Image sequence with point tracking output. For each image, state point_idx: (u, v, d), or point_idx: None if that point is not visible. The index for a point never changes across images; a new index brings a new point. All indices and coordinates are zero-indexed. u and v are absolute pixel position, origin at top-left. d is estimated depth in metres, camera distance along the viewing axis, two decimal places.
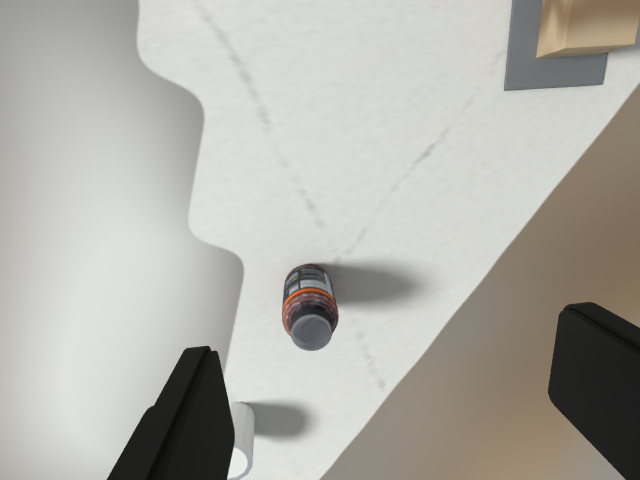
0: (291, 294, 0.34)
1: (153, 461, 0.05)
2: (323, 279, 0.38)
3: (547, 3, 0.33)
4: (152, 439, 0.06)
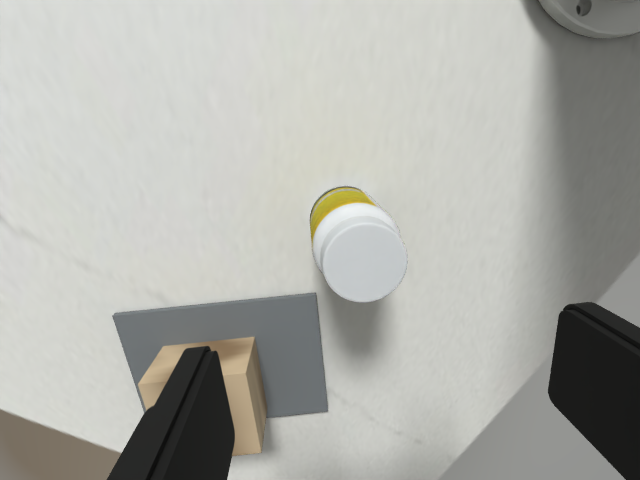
0: None
1: (153, 461, 0.05)
2: None
3: (224, 345, 0.24)
4: (152, 439, 0.06)
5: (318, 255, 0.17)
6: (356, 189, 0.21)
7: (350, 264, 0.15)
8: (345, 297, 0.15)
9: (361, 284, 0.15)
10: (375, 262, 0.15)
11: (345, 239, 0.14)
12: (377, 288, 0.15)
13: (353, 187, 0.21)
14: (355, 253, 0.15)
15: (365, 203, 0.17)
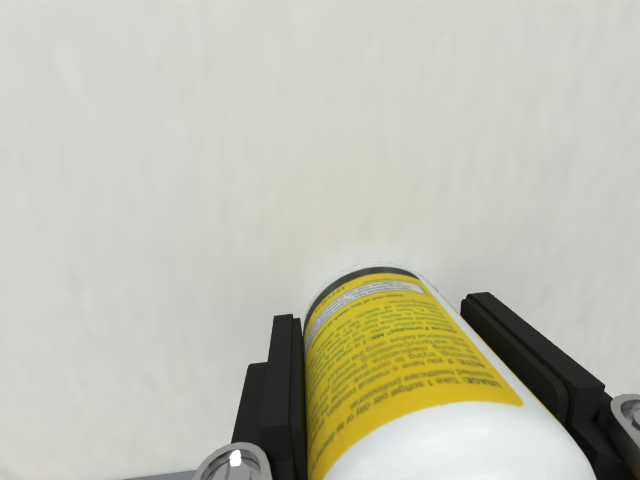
0: None
1: (289, 393, 0.06)
2: None
3: None
4: (279, 379, 0.07)
5: None
6: (408, 279, 0.09)
7: None
8: None
9: None
10: None
11: None
12: None
13: (399, 270, 0.10)
14: None
15: (491, 401, 0.05)
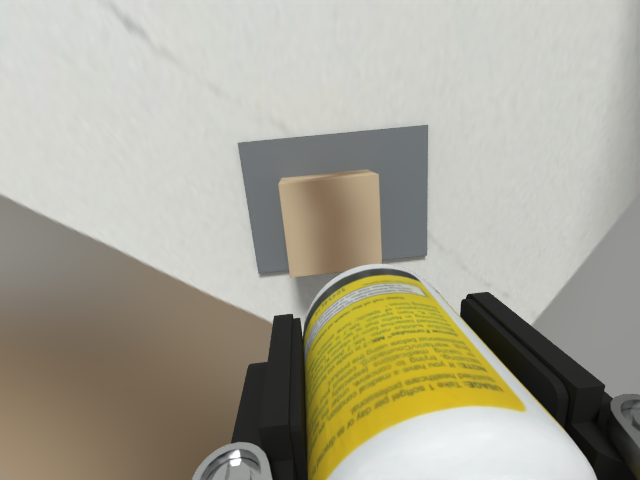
0: None
1: (289, 392, 0.06)
2: None
3: (342, 172, 0.26)
4: (279, 379, 0.07)
5: None
6: (409, 281, 0.09)
7: None
8: None
9: None
10: None
11: None
12: None
13: (399, 272, 0.10)
14: None
15: (493, 406, 0.05)
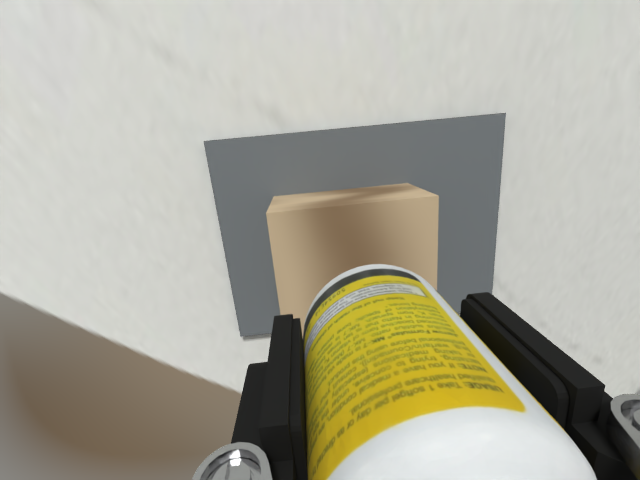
0: None
1: (289, 392, 0.06)
2: None
3: (369, 188, 0.16)
4: (279, 379, 0.07)
5: None
6: (409, 281, 0.09)
7: None
8: None
9: None
10: None
11: None
12: None
13: (399, 272, 0.10)
14: None
15: (493, 406, 0.05)
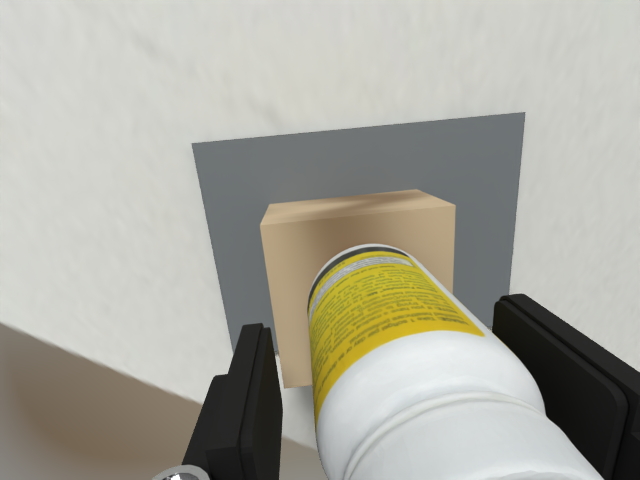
0: None
1: (243, 410, 0.06)
2: None
3: (375, 196, 0.15)
4: (236, 395, 0.06)
5: (333, 469, 0.06)
6: (400, 256, 0.11)
7: None
8: None
9: None
10: None
11: None
12: None
13: (392, 249, 0.11)
14: None
15: (459, 331, 0.06)
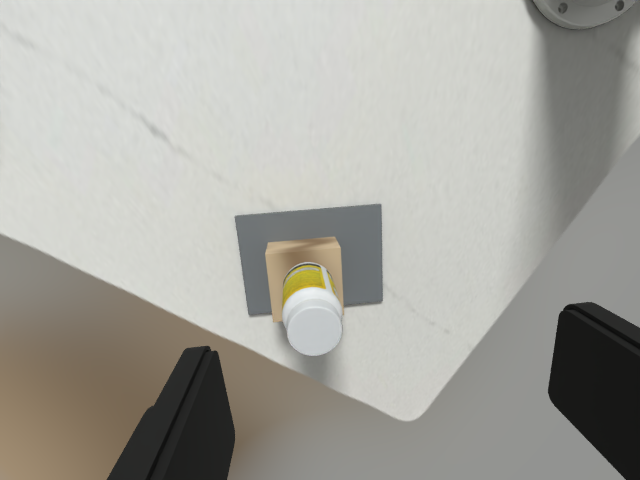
0: None
1: (153, 461, 0.05)
2: None
3: (315, 240, 0.33)
4: (152, 439, 0.06)
5: (285, 321, 0.25)
6: (316, 267, 0.29)
7: (305, 332, 0.23)
8: (301, 352, 0.23)
9: (312, 344, 0.23)
10: (321, 331, 0.23)
11: (301, 316, 0.23)
12: (323, 347, 0.23)
13: (314, 264, 0.30)
14: (308, 325, 0.23)
15: (318, 287, 0.25)
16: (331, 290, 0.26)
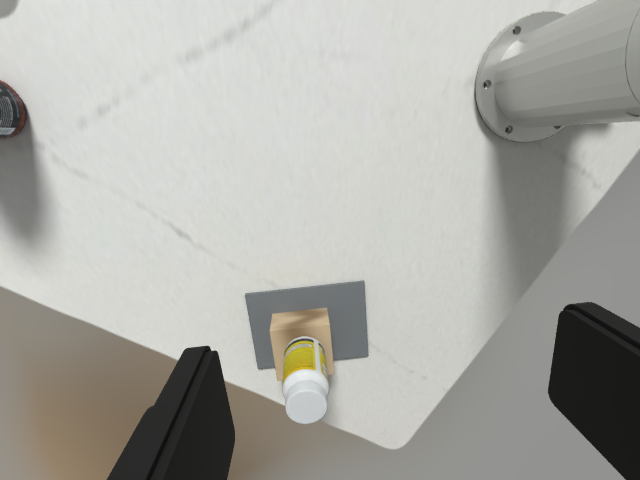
0: None
1: (153, 461, 0.05)
2: None
3: (310, 312, 0.41)
4: (152, 439, 0.06)
5: (285, 395, 0.33)
6: (310, 342, 0.37)
7: (299, 407, 0.31)
8: None
9: (304, 416, 0.31)
10: (311, 406, 0.31)
11: (296, 397, 0.30)
12: (313, 417, 0.31)
13: (309, 339, 0.37)
14: (301, 403, 0.31)
15: (309, 369, 0.32)
16: (320, 369, 0.33)
